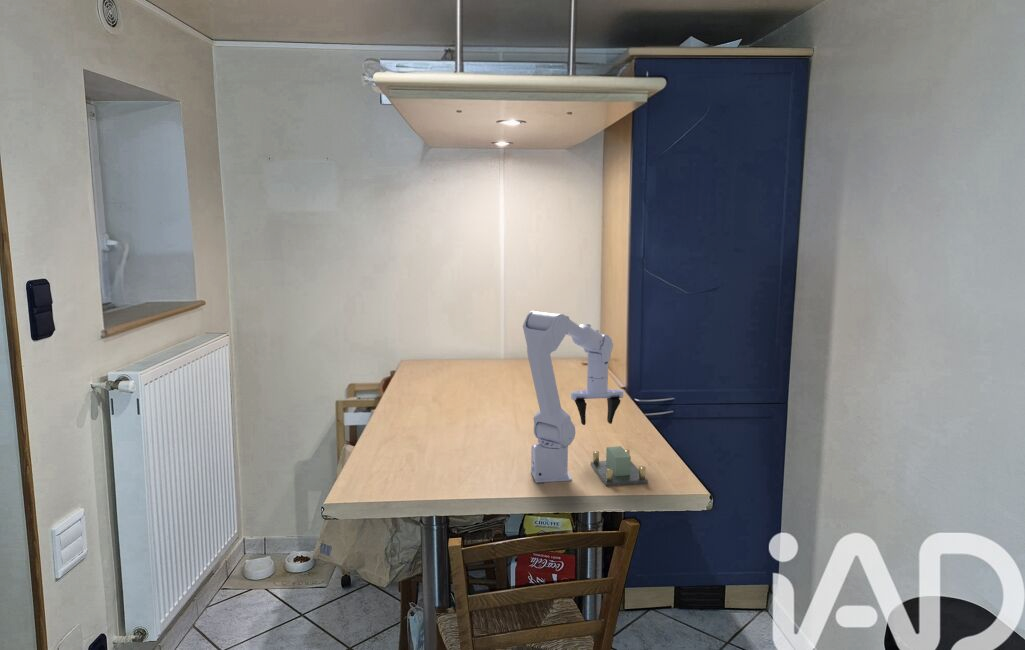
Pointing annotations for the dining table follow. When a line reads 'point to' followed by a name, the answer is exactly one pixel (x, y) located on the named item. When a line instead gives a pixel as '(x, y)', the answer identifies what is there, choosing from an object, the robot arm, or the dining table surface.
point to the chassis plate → (612, 480)
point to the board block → (618, 460)
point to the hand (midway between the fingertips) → (596, 423)
